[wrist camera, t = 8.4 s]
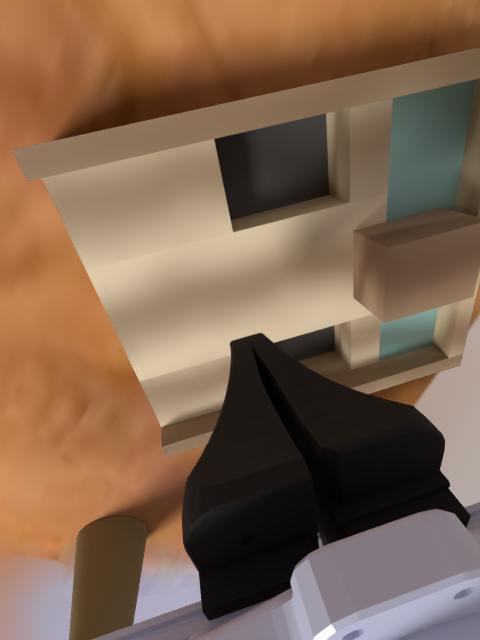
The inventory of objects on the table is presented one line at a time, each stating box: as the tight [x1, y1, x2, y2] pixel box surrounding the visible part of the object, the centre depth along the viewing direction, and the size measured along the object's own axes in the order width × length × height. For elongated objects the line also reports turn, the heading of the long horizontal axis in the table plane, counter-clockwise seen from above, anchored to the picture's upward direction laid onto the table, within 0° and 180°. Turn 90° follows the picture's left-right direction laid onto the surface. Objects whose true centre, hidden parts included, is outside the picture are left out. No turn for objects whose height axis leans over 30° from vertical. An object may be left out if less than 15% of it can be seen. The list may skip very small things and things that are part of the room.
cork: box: [69, 516, 147, 640], centre depth 24 cm, size 6×6×11 cm
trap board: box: [12, 47, 480, 457], centre depth 18 cm, size 17×20×4 cm
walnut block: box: [353, 208, 480, 323], centre depth 16 cm, size 4×5×3 cm
